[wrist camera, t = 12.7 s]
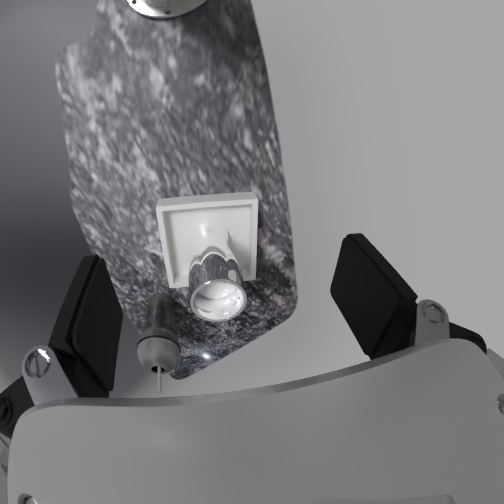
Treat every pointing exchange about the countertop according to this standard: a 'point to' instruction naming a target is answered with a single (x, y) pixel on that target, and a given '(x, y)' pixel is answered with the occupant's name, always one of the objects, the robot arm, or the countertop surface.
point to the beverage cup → (159, 337)
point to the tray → (201, 211)
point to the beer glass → (214, 275)
